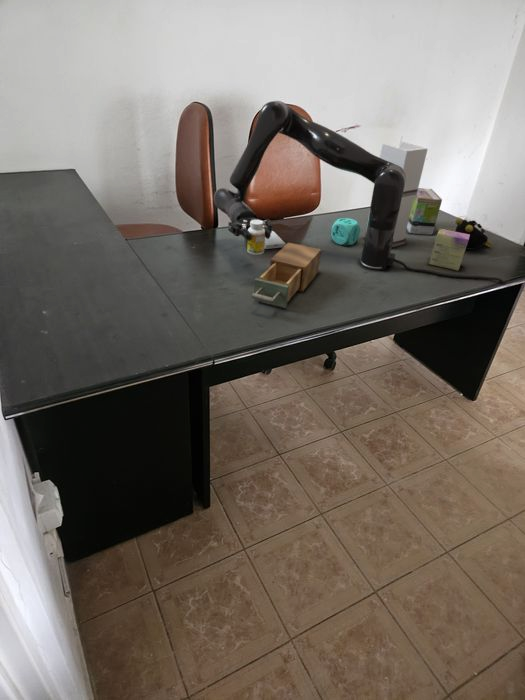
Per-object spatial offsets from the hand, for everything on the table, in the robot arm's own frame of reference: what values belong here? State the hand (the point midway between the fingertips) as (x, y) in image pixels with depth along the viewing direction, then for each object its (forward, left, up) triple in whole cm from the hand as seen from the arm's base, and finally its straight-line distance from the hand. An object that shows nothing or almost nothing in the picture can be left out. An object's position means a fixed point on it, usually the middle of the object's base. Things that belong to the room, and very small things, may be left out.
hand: (259, 236), depth 142 cm
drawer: (-9, +7, -15) cm, 19 cm away
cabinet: (-9, -9, -16) cm, 20 cm away
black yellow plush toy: (-60, -68, -16) cm, 92 cm away
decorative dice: (-15, -48, -16) cm, 53 cm away
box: (-53, -46, -16) cm, 72 cm away
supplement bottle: (+2, -2, -6) cm, 7 cm away
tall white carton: (-29, -57, -16) cm, 66 cm away
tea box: (-38, -79, -16) cm, 89 cm away
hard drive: (+10, -33, -16) cm, 38 cm away
